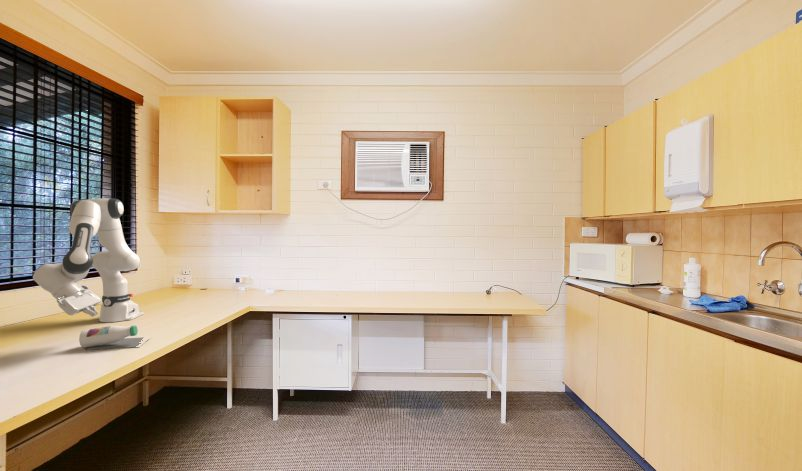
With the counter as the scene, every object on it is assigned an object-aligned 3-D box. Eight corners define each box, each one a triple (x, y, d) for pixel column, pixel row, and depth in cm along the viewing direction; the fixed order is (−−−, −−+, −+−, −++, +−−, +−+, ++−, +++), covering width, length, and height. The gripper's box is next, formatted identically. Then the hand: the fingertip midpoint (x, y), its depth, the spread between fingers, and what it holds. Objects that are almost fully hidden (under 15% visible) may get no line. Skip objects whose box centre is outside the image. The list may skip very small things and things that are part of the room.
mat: (86, 350, 155) (86, 349, 155) (103, 340, 169) (103, 339, 169) (139, 347, 161) (139, 346, 160) (151, 337, 174) (151, 337, 174)
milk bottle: (89, 345, 162) (140, 336, 168) (79, 350, 155) (133, 340, 161) (87, 328, 162) (138, 320, 168) (77, 332, 155) (131, 323, 161)
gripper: (60, 293, 149) (88, 315, 152) (89, 285, 169) (113, 305, 172) (47, 304, 148) (75, 326, 151) (77, 294, 168) (102, 314, 171)
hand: (95, 314), depth 162 cm, fingers closed
